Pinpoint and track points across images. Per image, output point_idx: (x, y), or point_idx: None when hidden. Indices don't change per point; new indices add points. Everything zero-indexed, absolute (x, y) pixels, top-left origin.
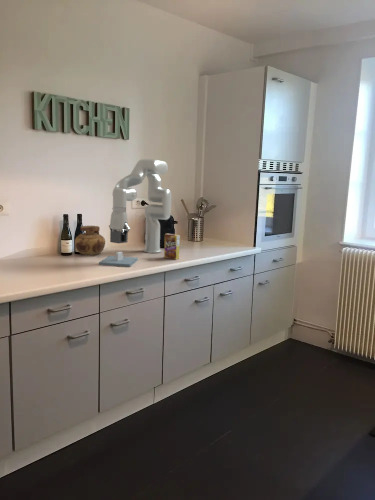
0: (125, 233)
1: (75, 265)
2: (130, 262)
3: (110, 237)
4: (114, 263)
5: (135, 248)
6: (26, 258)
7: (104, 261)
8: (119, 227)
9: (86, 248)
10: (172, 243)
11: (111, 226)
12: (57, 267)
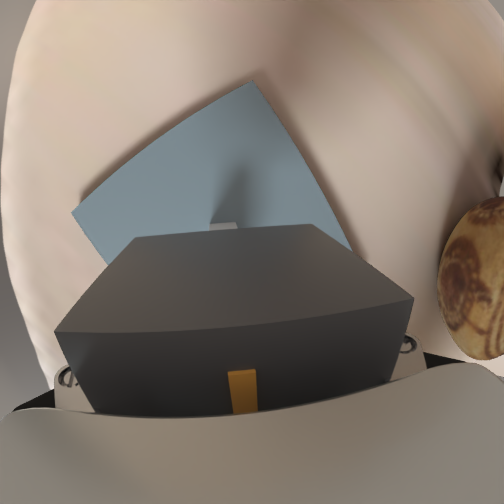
0: (50, 398)
1: (329, 6)
2: (110, 252)
3: (334, 242)
4: (151, 143)
5: None
6: (501, 47)
7: (251, 128)
8: (41, 469)
9: (481, 211)
10: None
11: (476, 405)
12: None
